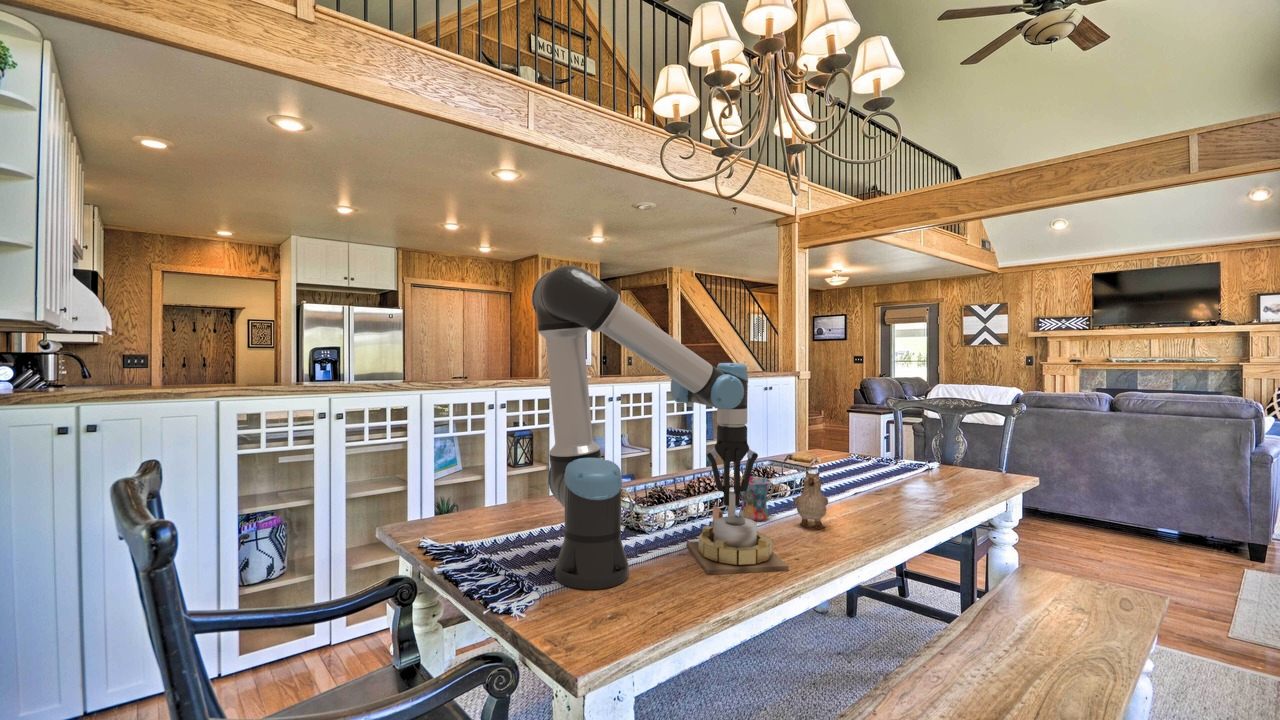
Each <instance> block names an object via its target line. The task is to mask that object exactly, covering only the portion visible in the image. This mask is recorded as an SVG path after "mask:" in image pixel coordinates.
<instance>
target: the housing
mask: <svg viewBox="0 0 1280 720" xmlns="http://www.w3.org/2000/svg"><path fill="white" fill-rule="evenodd" d="M757 529H758V523H757V522H756V520H751V519H747V518H742V517H741V516H736V515H735V516H731V517H728V516H723V517H721V518H717V519H715V520H714V543H715V541H717V540H718V539H720V540H724V541H727V546H728V547H736V548H740V547H753V546H756V542H757V532H758V530H757ZM685 543H686V544H685V545H686V548H687V549H688V551H689V552H690V553H691V555H692V556H693V557H694V559H695V560H696V562H697V563H698V564H699V565H700V566H701V568H702V570H704V572H705V573H706V575H707V576H709V575H713V576H714V575H726V574H727V575H729V574H730V575H731V574H745V573H746V574H747V573H765V572H766V573H767V572H781V571H782V572H784V571H785V572H786V571H789V565H788V564H787V563H786V562H785V561H784V559H781V558H780V557H779V556H778V555H777V554H776V553H774V552H773V551H772V554H771V556H770V559H768V560H766V561H763V562H760V563H758V564H757V563H756V564H744V565H738V563H737V565H735V564H728V563H721V562H719V561H718V562H716V561H714V560H711V559H708V558H706V557H704V556H703V555H702V554H701V553H700V552H699V550H698V546H699V540H698V541H686V542H685Z"/></svg>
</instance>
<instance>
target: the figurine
mask: <svg viewBox="0 0 1280 720" xmlns="http://www.w3.org/2000/svg"><path fill="white" fill-rule="evenodd" d="M792 504H793V505H796V511H797V514H798V515H799V516H800V517H801V522H800V523H799V525H798V526H803V528H807V527H810V524H809V523H808V520H813V521H814V525H812V528H815V529H818V530H821V529H825V528H826V527H825V526H824V525H823V523H822V518H824V517H825V515H826V514H827V505H828V504H829V499H828V497H827V496H824V495H823V493H822V482H821V478H820V472H816V473H810V472H809V471H808V470H806V471H805V477H804V478H803V490H802V493H801V494H800V495H798V496H795V497H794V498H793V501H792Z"/></svg>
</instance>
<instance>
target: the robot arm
mask: <svg viewBox="0 0 1280 720" xmlns="http://www.w3.org/2000/svg"><path fill="white" fill-rule="evenodd" d="M531 303H532V306H533V310H534V312H535V314H536V321H537V332H538V334H539V335H541V336H542V337H543V338H544V340H545V344H546V356H547V357H546V358H547V367H548V377H549V378H548V379H549V390H550V400H551V412H552V413H551V414H552V423H553V424H552V425H553V433H554V445H553V446H552V448H551V449H550V450H549V451H548V452H549V453H548V455H549V456H548V457H549V466H550V467H549V470H548V477H547V480H548V482H547V483H548V487H549V490H550V492H551V493H552V495H553V496H554V498H555V499H556V500H557V501H558V502H559V503H560V504H561V505H562V507H563V508H564V538H563V542H562V545H561V548H560V551H559V554H558V557H557V560H556V562H555V580H557V582H558V583H559V584H561V585H564V586H566V587H570V588H573V589H578V590H579V589H580V590H601V589H608V588H609V589H610V588H611V587H616V586H618V585H621V584H623V583H624V582H625V581H626V580H627V579H629V566H630V565H629V562H628V558H627V555H626V551H625V548H624V546H623V541H622V539H621V536H622V535H621V527H622V525H621V523H622V519H621V518H622V517H621V516H622V487H623V478H622V471H621V468H620V467H619V465H618V464H617V463H616V462H614V461H611V460H609V459H604V458H602V455H601V453H602V452H601V447H600V445H599V444H598V443H596V442H595V441H594V439H593V428H592V427H593V426H592V417H591V416H592V415H591V405H590V404H591V402H590V393H589V381H588V380H589V379H588V370H587V357H586V345H585V335H586V334H587V333H588V331H591V332H592V333H599V332H601V333H602V334H604V335H605V336H607V337H608V338H609V339H611V340H613V341H614V342H616V343H617V344H619V345H620V346H622V347H623V348H625V349H627V350H628V351H630V352H631V353H632V354H634V355H636V356H637V357H638V358H640V359H641V360H643V361H644V362H646V363H647V364H649V365H651V367H654V368H655V369H657V370H658V371H659V372H661V373H663V374H664V375H665V376H667V377H668V378H670V379H671V380H670V394H671V397H672V400H673V401H674V402H676V403H678V404H679V403H682V404H683V403H685V404H691V403H695V404H698V405H699V404H700V405H705V406H709V407H713V408H716V409H717V410H716V423H717V424H718V425H717V426H716V443H715V445H714V448H713V449H712V450H709V451H706V454H705V455H706V456H707V458H708V460H709V463H710V466H711V470H712V475H713V479H714V483H715V486H716V489H717V491H718V492H722V493H723V504H724V507H727V517H731V516H736V507H739V506H740V500H741V499H740V496H741V495H740V494H742V491H746V490H747V488H748V484H749V480H750V477H752V471H753V468H754V465H755V462H756V460H757V459H758V457H759V455H758V453H757V452H756V451H753V450H752V449H750V446H749V444H748V427H747V424H748V389H749V388H748V386H749V385H748V383H749V375H748V374H749V373H748V367H747V365H746V364H745V363H742V362H719V363H718V364H717V366H714V365H712V364H711V363H709V362H708V361H707V360H706V359H703V358H702V357H701V356H699V355H698V354H696V352H694V351H692V350H691V349H689V348H688V347H687V346H686V345H684V344H682V343H681V342H680V341H678V340H677V339H676V338H674V337H673V336H672V335H669V334H668V333H667V332H665V331H664V330H662V329H661V328H660V327H658V326H656V325H655V324H654V323H653V322H651V321H649V319H646V318H645V316H643V315H641V314H640V313H639V312H637V311H635V310H634V309H633V308H631V307H630V306H628V305H627V304H625V303H624V302H622V300H621V294H619V292H617V291H615V290H614V289H613V288H611V287H610V286H608V285H607V284H606V283H605V282H603V281H602V280H600V279H599V278H598V277H596V276H595V275H594V274H593V273H591V272H589V271H588V270H586V269H584V268H582V267H579V266H575V265H562V266H559V267H556V268H554V269H553V270H552V271H549V272H547V273H545V274H544V275H542V276H541V277H539V279H538V280H537V282H536V283H535V285H534V287H533V290H532V293H531ZM717 454H718V456H719V457H720V459H721V460H722V461H723V462H722V463H723V481H721V477H720V473H719V470H718V464H717V460H716V459H717V457H718V456H717ZM745 457H747V460H746V464H745V468H744V472H743V475H742V477H743V479H742V483H741V485H740V478H741V462H742V460H743V459H744V458H745ZM731 463H733V491H732V490H731V491H730V489H731V488H730V479H731V477H730V475H731V474H730V473H731ZM722 482H723V484H722Z"/></svg>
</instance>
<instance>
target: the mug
mask: <svg viewBox="0 0 1280 720" xmlns="http://www.w3.org/2000/svg"><path fill="white" fill-rule="evenodd" d="M742 479H743V476H741V477H740V485H741V483H742ZM770 487H771V490H770ZM769 490H770V493H769V494H768V492H769ZM774 490H775V485H774V484H773V483H772V480H771V479H769V478H765V477H761V476H750V480H749V484H748V488H747V490H746V491H742V492H741V507H740V509H739V512H738V517H742V518H747V519H751V520H753V521H764V520H766V519H767V520H768V518H770V513H769V510H768V506H767V502H768V500H769V499H770V498H771V497H772V495H773V493H774Z"/></svg>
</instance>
